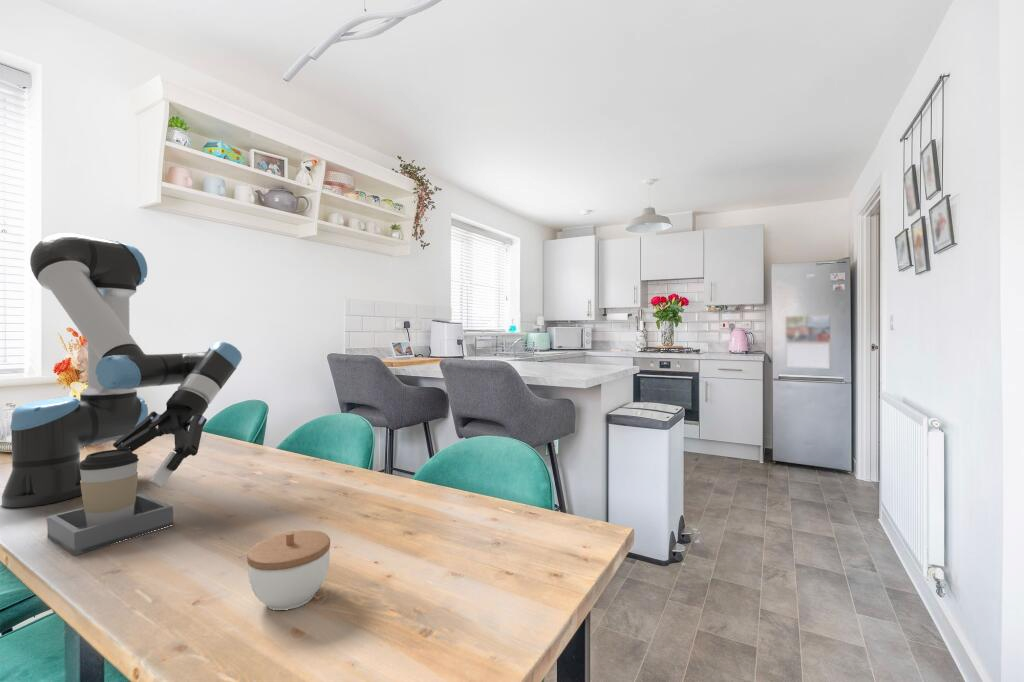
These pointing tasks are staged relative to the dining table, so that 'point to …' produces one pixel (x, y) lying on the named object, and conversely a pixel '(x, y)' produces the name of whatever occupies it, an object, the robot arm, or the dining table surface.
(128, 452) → the coffee cup
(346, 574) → the dining table surface
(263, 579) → the lidded jar
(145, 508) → the tray
